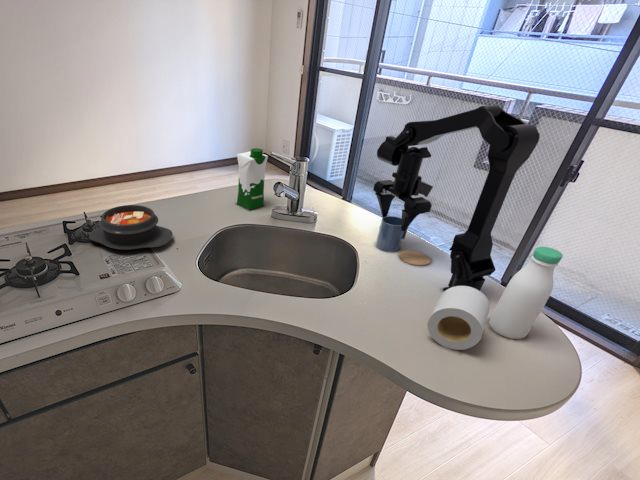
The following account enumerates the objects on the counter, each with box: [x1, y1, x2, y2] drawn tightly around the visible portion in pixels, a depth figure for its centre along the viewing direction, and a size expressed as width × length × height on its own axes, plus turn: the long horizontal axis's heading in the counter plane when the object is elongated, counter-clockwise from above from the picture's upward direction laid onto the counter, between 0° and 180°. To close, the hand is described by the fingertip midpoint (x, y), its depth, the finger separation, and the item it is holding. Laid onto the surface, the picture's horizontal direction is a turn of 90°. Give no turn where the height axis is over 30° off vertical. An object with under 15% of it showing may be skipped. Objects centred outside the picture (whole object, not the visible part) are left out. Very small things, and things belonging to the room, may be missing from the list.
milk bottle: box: [488, 246, 563, 340], centre depth 83 cm, size 8×8×20 cm
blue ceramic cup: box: [375, 215, 409, 253], centre depth 118 cm, size 9×7×8 cm
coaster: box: [398, 249, 432, 267], centre depth 115 cm, size 9×9×1 cm
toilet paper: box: [427, 286, 491, 351], centre depth 84 cm, size 10×10×10 cm
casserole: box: [88, 204, 173, 251], centre depth 117 cm, size 25×19×8 cm
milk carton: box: [236, 147, 269, 211], centre depth 138 cm, size 9×9×20 cm
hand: (393, 224), depth 116 cm, fingers open, 9 cm apart
